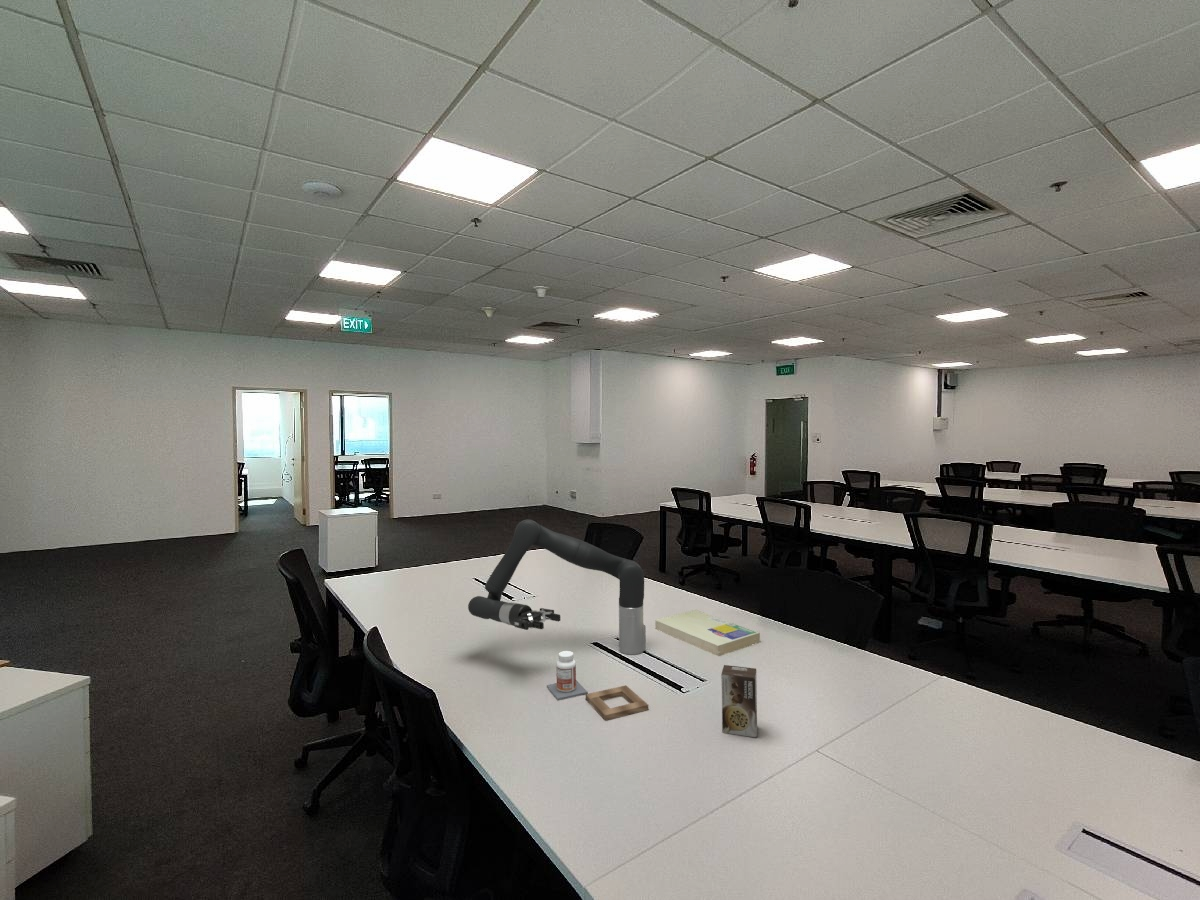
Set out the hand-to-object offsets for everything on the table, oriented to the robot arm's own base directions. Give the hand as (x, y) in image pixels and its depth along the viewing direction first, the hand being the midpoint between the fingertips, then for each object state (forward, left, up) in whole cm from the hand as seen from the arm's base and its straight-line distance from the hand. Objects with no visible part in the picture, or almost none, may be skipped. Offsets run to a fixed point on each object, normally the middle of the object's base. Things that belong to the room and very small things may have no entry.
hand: (551, 622), depth 175 cm
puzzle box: (-71, -13, -20) cm, 75 cm away
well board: (-12, +23, -20) cm, 33 cm away
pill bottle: (-2, +8, -19) cm, 21 cm away
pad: (-2, +8, -20) cm, 21 cm away
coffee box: (-36, +50, -20) cm, 65 cm away
